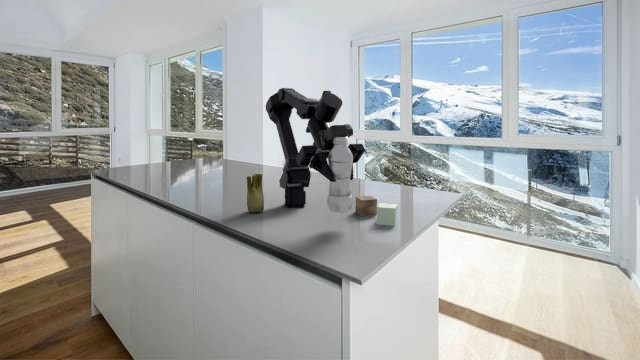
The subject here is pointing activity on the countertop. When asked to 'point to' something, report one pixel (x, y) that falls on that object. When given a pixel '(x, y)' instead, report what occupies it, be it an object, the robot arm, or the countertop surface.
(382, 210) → the sage block
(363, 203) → the walnut block
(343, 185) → the plastic bottle
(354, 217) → the countertop surface
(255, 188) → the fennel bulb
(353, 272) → the countertop surface
